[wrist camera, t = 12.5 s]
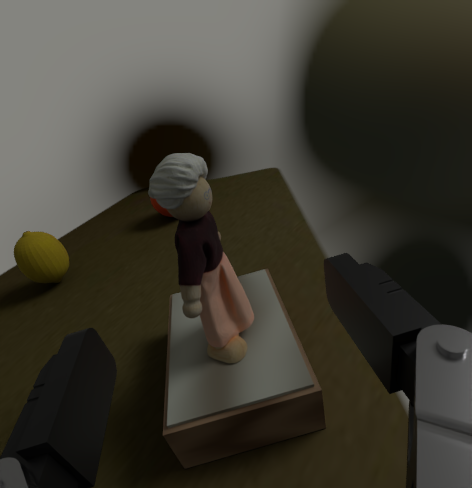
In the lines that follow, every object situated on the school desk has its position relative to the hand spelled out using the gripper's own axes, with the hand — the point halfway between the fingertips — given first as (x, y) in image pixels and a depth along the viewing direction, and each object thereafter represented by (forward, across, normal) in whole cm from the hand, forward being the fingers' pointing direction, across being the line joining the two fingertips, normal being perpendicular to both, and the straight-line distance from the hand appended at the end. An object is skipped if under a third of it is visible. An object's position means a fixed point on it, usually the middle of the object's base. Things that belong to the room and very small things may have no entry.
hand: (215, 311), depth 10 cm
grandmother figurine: (+8, 0, +9) cm, 12 cm away
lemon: (+29, +22, +13) cm, 39 cm away
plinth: (+8, +1, +13) cm, 15 cm away
